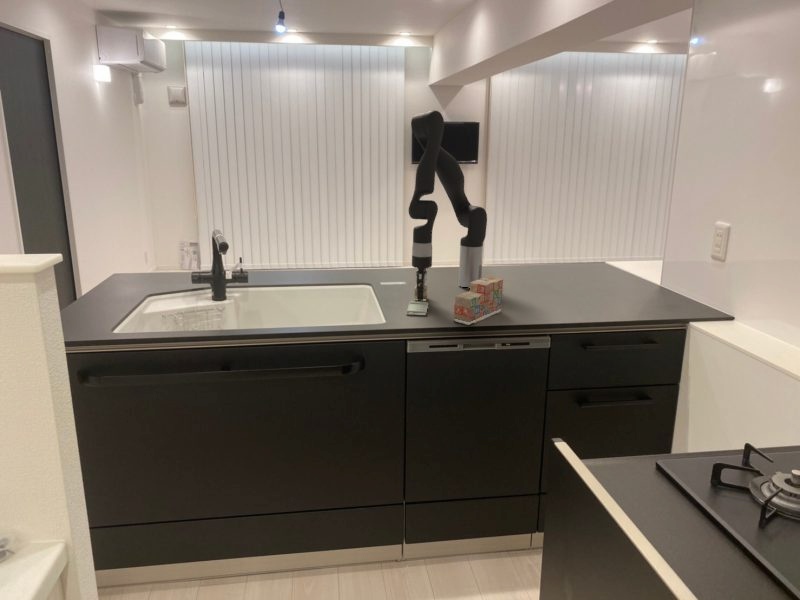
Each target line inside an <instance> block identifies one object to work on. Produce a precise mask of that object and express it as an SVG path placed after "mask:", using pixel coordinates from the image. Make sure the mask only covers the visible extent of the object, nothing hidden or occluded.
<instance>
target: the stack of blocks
mask: <svg viewBox="0 0 800 600" xmlns="http://www.w3.org/2000/svg"><path fill="white" fill-rule="evenodd" d="M503 286H504V279H503V278H495V277H491V276H486V277H482V278H481V279H479V280H476V281H473V282H470V289H469V291H466V292H463V293H461V294H458V295H455V297H454V305H453V306H454V307H453V308H454V312H453V313H454V314H453V320H454V319H458V320H462V321H466V322H471V321H473V320H476V319H478V318H480V317H482V316H484V315H487V314H490V313H492V312H494V311H497V310H499V309H501V310H502V303H503V291H504V288H503Z"/></svg>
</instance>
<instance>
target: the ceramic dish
mask: <svg viewBox="0 0 800 600" xmlns="http://www.w3.org/2000/svg"><path fill="white" fill-rule="evenodd" d="M428 305H429V306H430V304H429V302H428V301H427V302H426V301H412V300H411V301H409V303H408V306H407V310H406V312H407V313H409V312H413V313H426V311H423V310H420V309H426V308H425V307H427V308H428V309H429V307H428ZM422 307H424V308H422ZM417 309H418V310H417Z"/></svg>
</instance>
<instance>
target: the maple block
mask: <svg viewBox="0 0 800 600" xmlns="http://www.w3.org/2000/svg"><path fill="white" fill-rule="evenodd" d="M416 287H417V284H416V285H415V286H414V297H413V298H414V299H417V288H416ZM428 288H429V286H428V285H425V286H424V290H423V299H427V300H428V294H429V293H428V290H429V289H428Z"/></svg>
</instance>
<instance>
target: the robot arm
mask: <svg viewBox="0 0 800 600" xmlns="http://www.w3.org/2000/svg"><path fill="white" fill-rule="evenodd" d="M410 126H411V130H412V133H413V135H414V137H415V138H416V141H417V142H418V143H419V145H420V146H421V148H422V150H423V152H424V153H423V154H422V156H421V158H420V161H419V162H418V165H417V167H416V172H415V185H414V191H413V194H412V197H411V200H410V203H409V206H408V214H409V217H410V219H413V220H423V221H424V220H427V221H426V223H425V224H422V225H415V227H413V230H412V247H411V248H412V249H411V266H412V268H416V269H417V270H416V272H415V277H416V278H415V281H416V282H415V284H416V285H417V287H416V288H417V299H418V300H423V290H424V286H426V282H427V276H428V271H427V269H429V268H432V266H433V228H434V224H435V221H436V218H437V215H438V210H439V206H438V204H437V202H436V201H435V200H430V199H429V200H428V199H426V200H425V199H422V197H424V196H429V195H433V194H434V191H435V183H436V182H435V181H436V180H435V179H436V176H437V178H438V180H439V181H440V184H441V185H442V187H443V188H444V192H445V193H446V195H447V197H448V199H449V201H450V203H451V206H452V209H453V212H454V214H455V217H456V220H457V221H458V223H459V225H460V226H462V227H463V228H466V229H467V234H466V235H465V236H462V237H461V238H460V241H459V243H460V245H459V246H460V247H459V267H458V287H459V286H462V287H470V282H473V281H476V280H479V279H481V278H483V277H482V273H483V251H484V250H483V249H484V248H483V247H484V241H485V239H486V235H487V227H488V226H487V225H488V224H487V223H488V214H487V211H486V209H485V208H484V207H482V206H477V205H472V204H471V202H470V201H469V199H468V197H467V195H466V193H465V176H464V172H463V170H462V168H461V166H460V163H459V162H458V161H457V159H456V158H455V156H453V155H452V154H450V153H449V152H448V151H447V150H445V149H444V148H443V147H442V145H441V144H442V139H443V135H444V129H445V119H444V116H443V114H442V113H441V112H440V111H439V110H436V109H435V110H433V109H432V110H429V111H426V112H421V113H417V114H414V115H413V117H412V118H411V122H410ZM462 287H461V288H462Z"/></svg>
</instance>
